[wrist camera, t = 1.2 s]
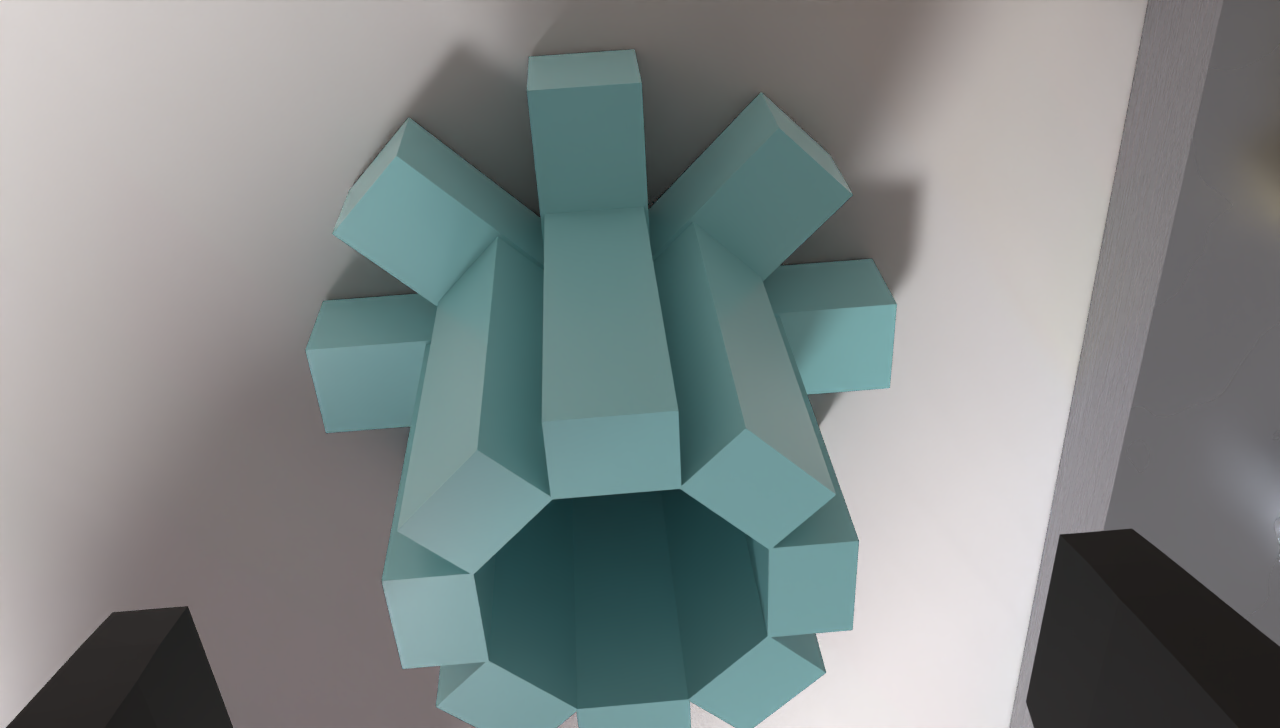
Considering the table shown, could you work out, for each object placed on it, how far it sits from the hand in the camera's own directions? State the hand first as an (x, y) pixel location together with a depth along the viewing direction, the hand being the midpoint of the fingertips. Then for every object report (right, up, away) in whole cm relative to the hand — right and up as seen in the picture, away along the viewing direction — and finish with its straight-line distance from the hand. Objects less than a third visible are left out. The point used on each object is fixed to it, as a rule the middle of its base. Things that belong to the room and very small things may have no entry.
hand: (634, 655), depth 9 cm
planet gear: (0, +3, +5) cm, 6 cm away
